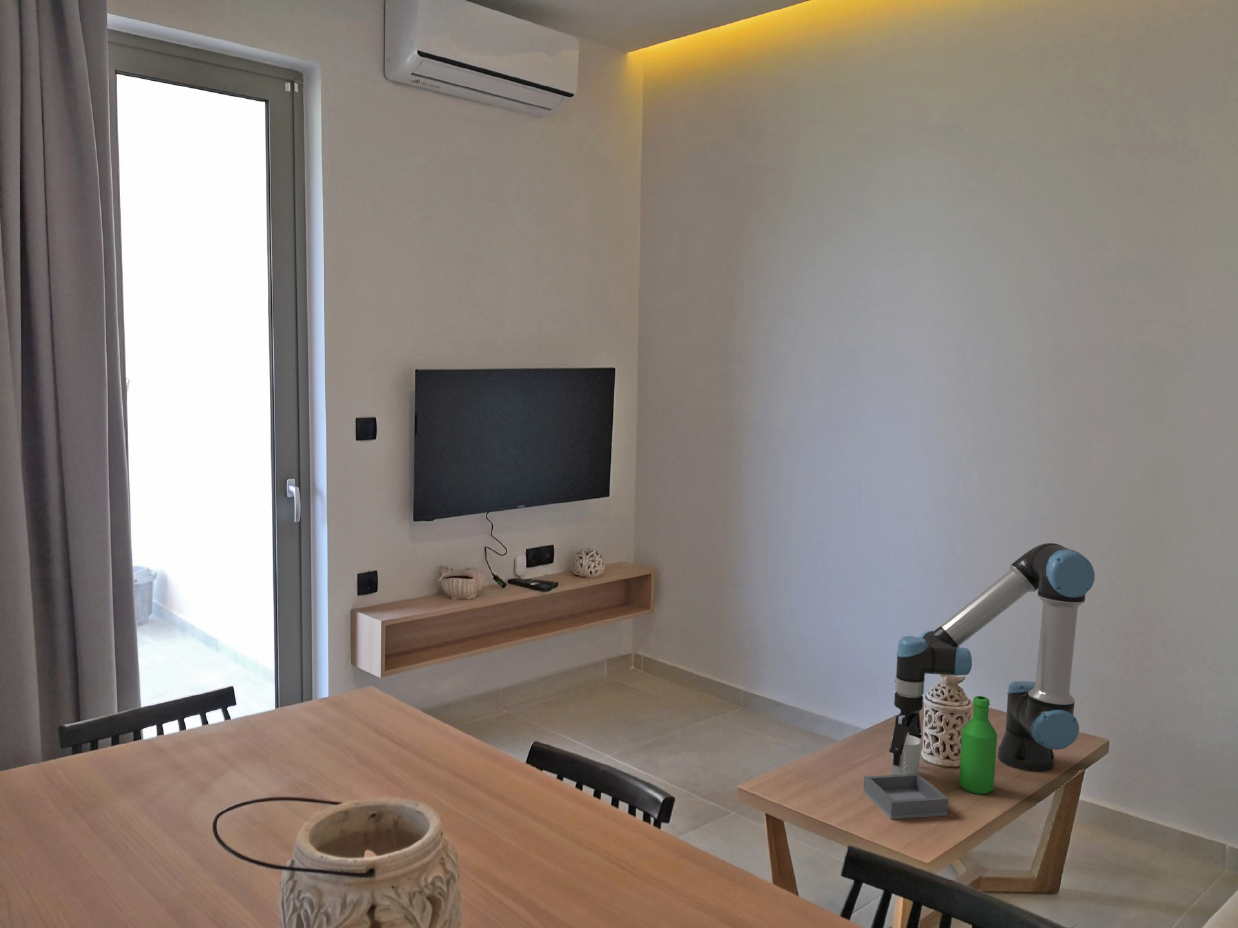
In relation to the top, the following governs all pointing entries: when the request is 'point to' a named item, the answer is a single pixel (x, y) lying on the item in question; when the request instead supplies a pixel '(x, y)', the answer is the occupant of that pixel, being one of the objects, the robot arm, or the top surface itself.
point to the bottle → (978, 750)
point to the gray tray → (905, 796)
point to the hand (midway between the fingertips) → (904, 768)
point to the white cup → (911, 755)
